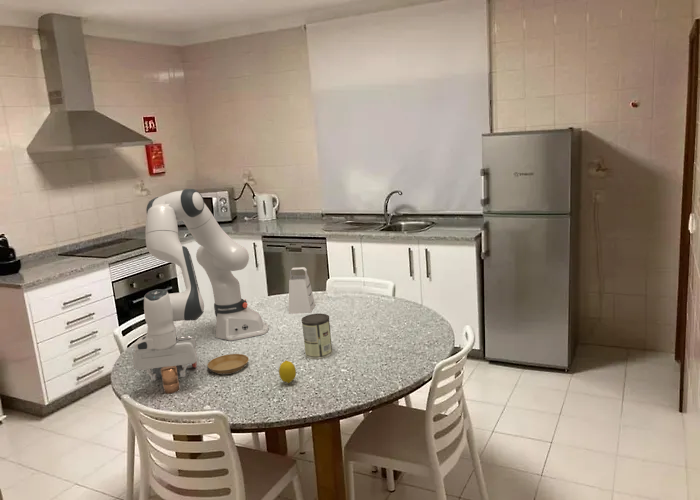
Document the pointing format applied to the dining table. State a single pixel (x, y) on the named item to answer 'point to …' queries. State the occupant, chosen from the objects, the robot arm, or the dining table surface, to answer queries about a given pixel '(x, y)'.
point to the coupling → (170, 379)
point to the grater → (300, 293)
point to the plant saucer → (228, 363)
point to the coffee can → (317, 336)
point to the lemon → (287, 371)
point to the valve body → (179, 367)
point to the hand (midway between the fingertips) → (168, 378)
